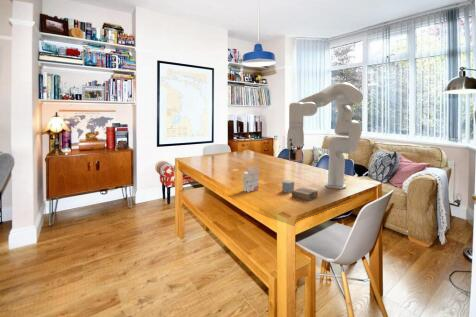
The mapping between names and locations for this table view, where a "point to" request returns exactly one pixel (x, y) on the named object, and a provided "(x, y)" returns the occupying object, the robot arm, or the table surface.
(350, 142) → the robot arm
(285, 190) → the slate grey block
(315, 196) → the walnut block
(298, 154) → the terracotta block
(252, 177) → the ink cartridge box
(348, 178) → the table surface
